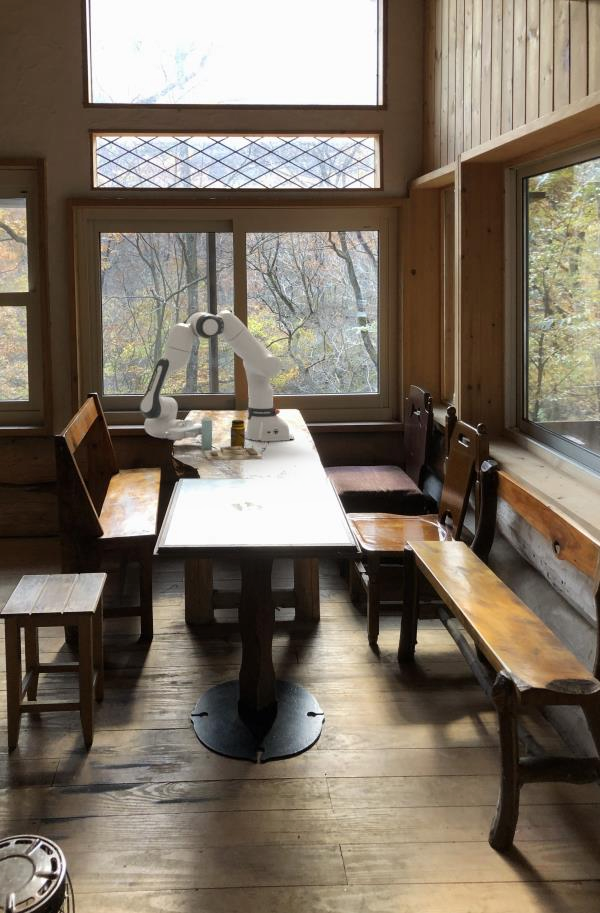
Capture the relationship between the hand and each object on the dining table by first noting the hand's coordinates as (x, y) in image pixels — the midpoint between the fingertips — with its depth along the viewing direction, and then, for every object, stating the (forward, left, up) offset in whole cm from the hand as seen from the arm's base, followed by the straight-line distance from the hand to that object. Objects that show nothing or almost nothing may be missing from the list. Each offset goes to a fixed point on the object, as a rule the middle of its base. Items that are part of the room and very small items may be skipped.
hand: (202, 433), depth 386 cm
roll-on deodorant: (-1, +2, -7) cm, 7 cm away
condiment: (-14, -2, -7) cm, 16 cm away
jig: (-10, +14, -7) cm, 18 cm away
